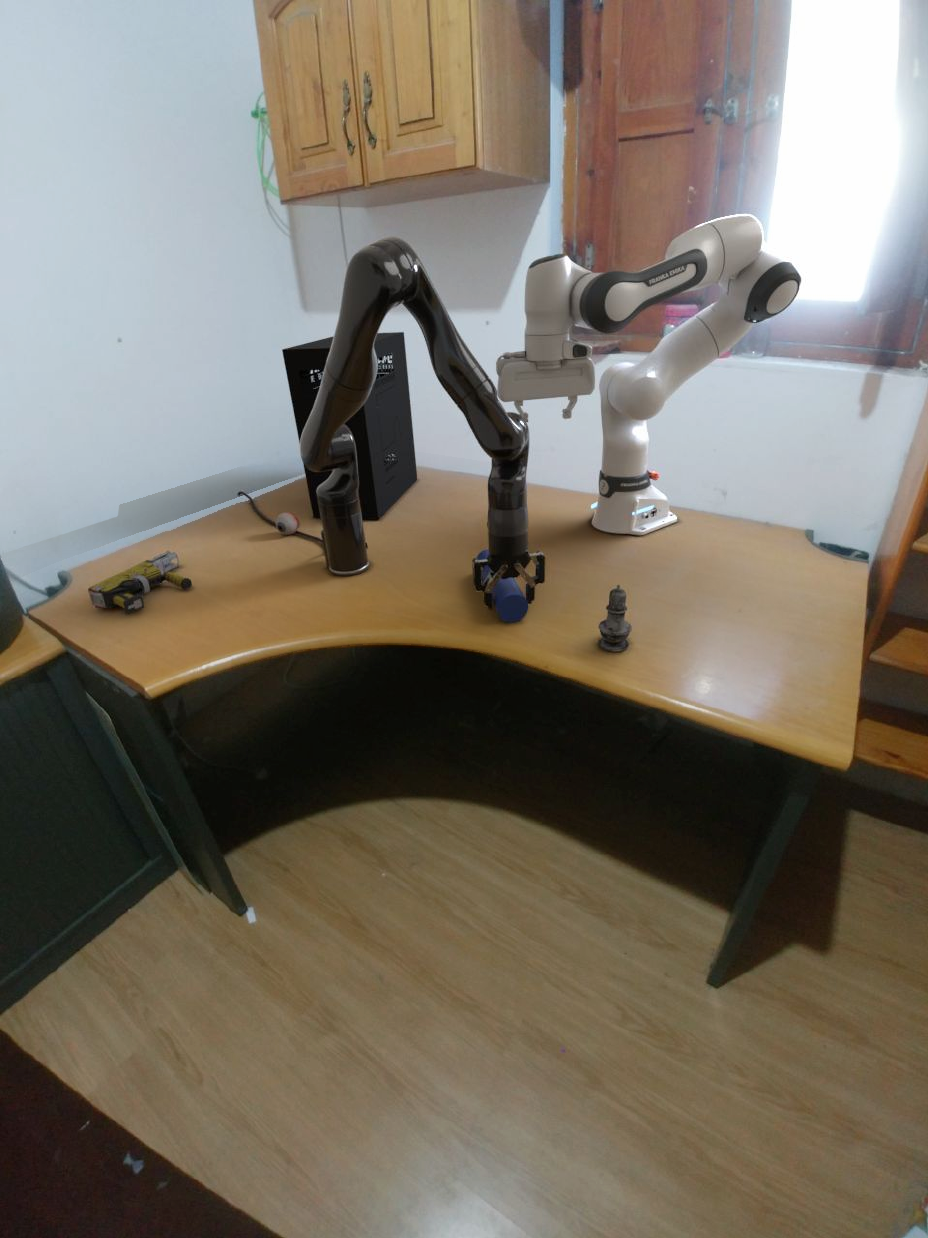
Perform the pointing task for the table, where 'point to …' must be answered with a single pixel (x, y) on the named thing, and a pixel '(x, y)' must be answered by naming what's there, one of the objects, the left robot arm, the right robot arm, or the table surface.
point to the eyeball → (287, 523)
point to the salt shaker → (615, 623)
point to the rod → (506, 595)
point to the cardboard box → (363, 422)
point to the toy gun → (136, 583)
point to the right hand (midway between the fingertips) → (545, 420)
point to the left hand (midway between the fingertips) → (509, 604)
